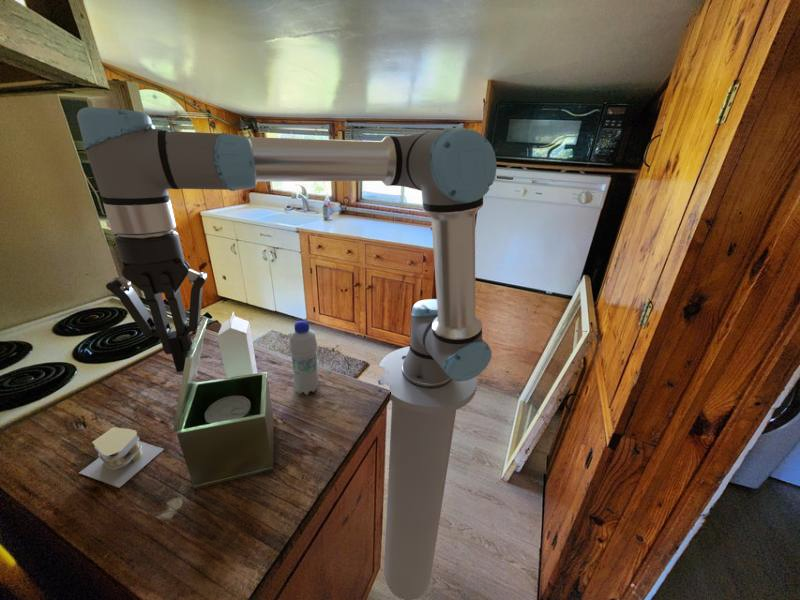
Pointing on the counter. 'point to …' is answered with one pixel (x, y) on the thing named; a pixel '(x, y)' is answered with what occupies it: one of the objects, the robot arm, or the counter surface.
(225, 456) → the bin
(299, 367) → the bottle
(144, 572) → the counter surface
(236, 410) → the canned tomato
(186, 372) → the lid
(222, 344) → the milk
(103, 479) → the stacked layers on plate
